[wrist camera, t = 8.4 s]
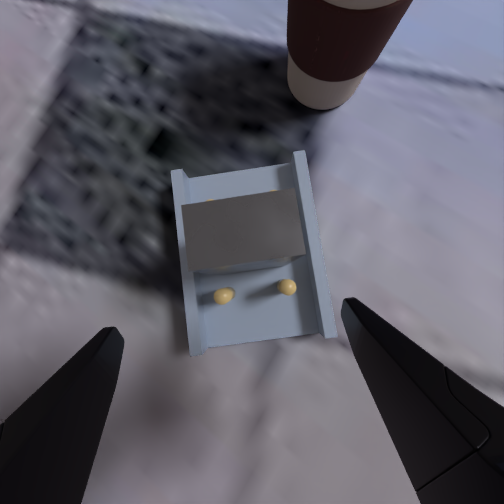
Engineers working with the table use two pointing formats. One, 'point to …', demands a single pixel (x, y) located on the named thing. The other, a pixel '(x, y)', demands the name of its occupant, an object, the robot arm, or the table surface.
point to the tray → (257, 281)
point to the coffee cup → (336, 45)
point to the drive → (243, 233)
